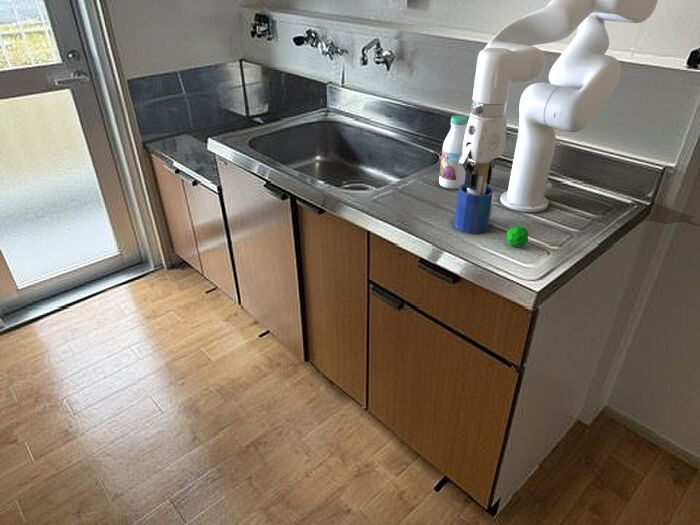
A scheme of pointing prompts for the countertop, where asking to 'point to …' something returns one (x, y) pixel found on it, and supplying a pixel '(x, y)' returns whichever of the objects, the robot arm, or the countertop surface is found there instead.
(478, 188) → the sprinkles bottle
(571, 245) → the countertop surface
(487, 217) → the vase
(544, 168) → the robot arm
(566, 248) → the countertop surface
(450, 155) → the milk bottle
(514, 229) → the polyhedron
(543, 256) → the countertop surface
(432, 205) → the countertop surface
